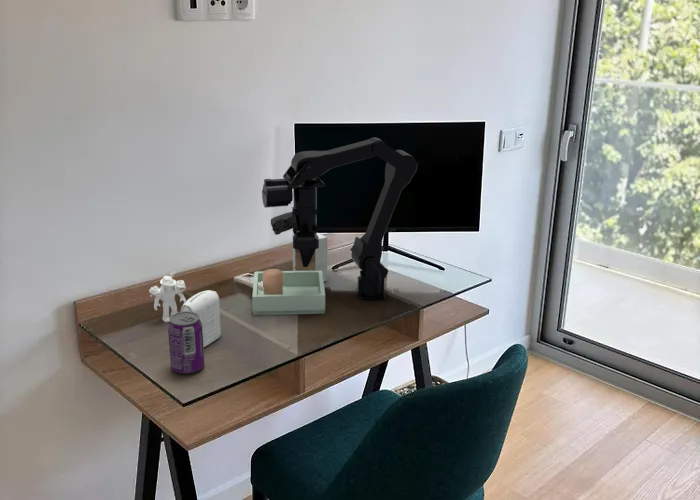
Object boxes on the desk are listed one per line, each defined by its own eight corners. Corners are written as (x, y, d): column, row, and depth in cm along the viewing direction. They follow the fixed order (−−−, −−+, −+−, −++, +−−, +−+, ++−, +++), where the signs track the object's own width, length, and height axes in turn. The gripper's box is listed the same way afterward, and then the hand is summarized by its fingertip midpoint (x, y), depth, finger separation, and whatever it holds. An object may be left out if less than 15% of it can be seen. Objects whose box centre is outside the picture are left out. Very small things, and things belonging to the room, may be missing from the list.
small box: (327, 281, 202) (328, 236, 197) (309, 286, 198) (309, 241, 194) (310, 271, 208) (310, 228, 203) (292, 277, 204) (291, 233, 199)
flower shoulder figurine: (184, 311, 183) (181, 266, 178) (191, 316, 180) (188, 272, 175) (149, 320, 178) (145, 274, 173) (156, 326, 175) (152, 280, 170)
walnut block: (295, 263, 188) (295, 244, 186) (314, 262, 188) (314, 244, 186) (295, 270, 183) (295, 252, 181) (315, 270, 183) (315, 251, 182)
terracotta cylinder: (263, 293, 191) (263, 269, 188) (283, 293, 191) (282, 268, 189) (263, 301, 186) (262, 276, 184) (283, 301, 187) (282, 276, 184)
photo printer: (209, 332, 173) (206, 284, 168) (223, 336, 171) (221, 288, 166) (180, 350, 164) (176, 300, 160) (195, 355, 162) (191, 304, 158)
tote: (321, 287, 198) (321, 270, 196) (325, 313, 183) (325, 295, 181) (255, 288, 196) (254, 271, 194) (252, 315, 181) (252, 296, 180)
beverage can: (210, 363, 159) (207, 313, 155) (193, 378, 153) (190, 327, 148) (182, 357, 161) (178, 308, 157) (164, 372, 155) (160, 321, 151)
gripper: (273, 193, 188) (274, 249, 193) (271, 216, 170) (272, 277, 176) (316, 193, 188) (316, 249, 194) (319, 216, 171) (318, 277, 177)
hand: (305, 262), depth 185 cm, fingers closed on walnut block, 5 cm apart
